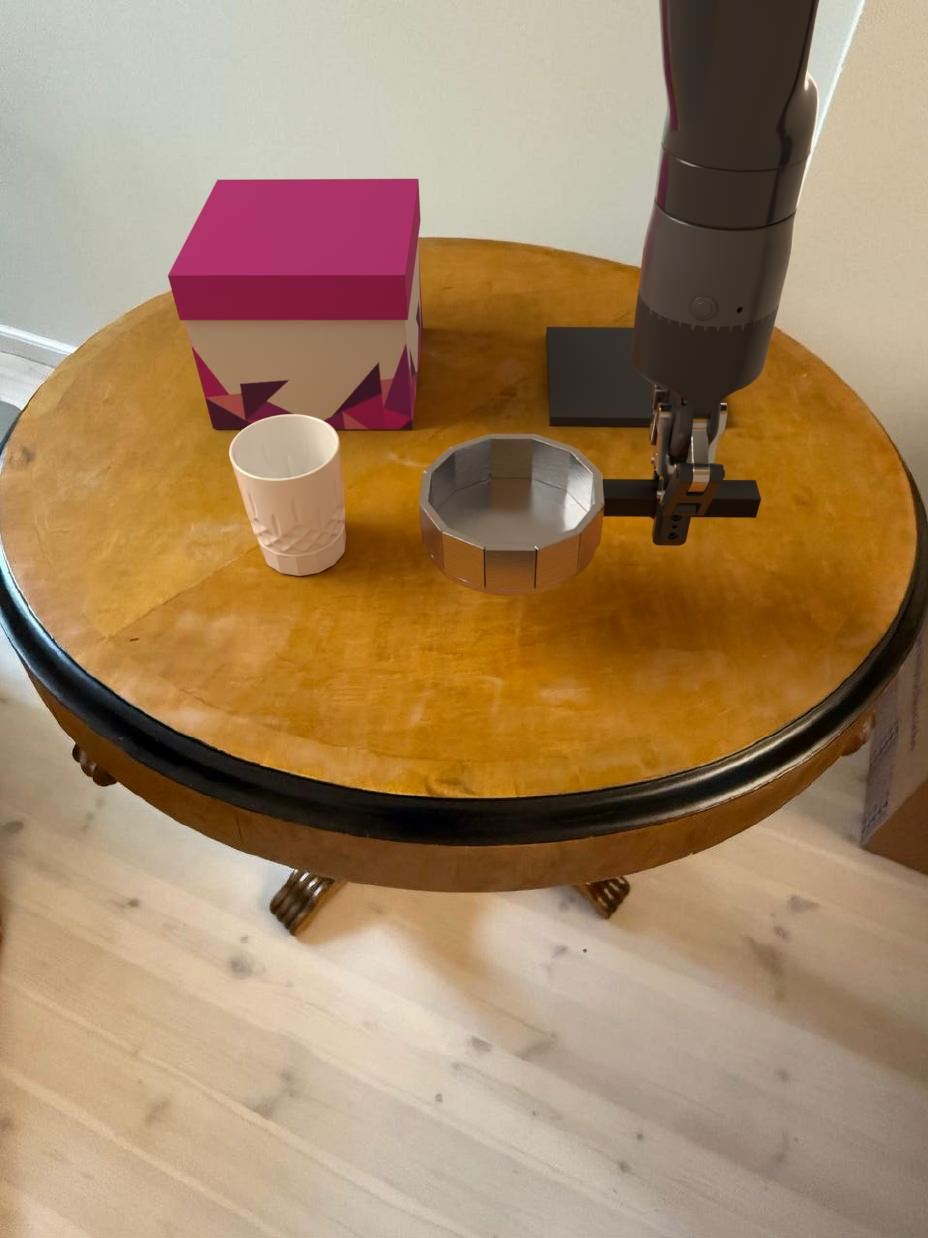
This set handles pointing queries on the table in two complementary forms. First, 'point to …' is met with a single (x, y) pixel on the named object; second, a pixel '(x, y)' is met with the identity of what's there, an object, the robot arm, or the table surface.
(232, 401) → the decorative box
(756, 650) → the table surface
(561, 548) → the steel pan
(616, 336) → the trivet
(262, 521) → the white cup
